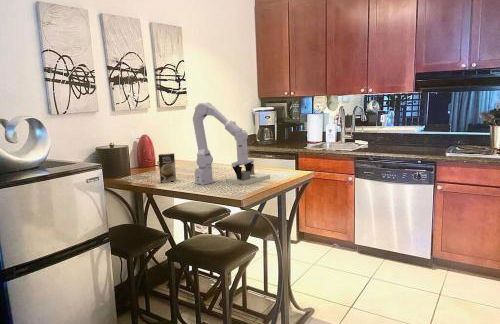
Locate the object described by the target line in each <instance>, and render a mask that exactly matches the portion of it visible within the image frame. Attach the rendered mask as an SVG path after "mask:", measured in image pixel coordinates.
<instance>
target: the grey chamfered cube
mask: <svg viewBox="0 0 500 324" xmlns="http://www.w3.org/2000/svg"><path fill="white" fill-rule="evenodd" d="M248 179H251V176H250V171H246V169H245V170H244V169H243V170H241V179H237V180H248Z"/></svg>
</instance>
